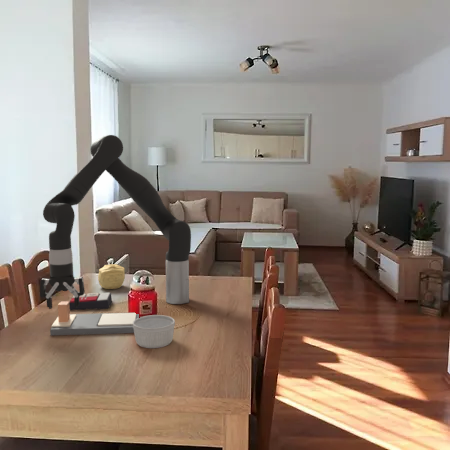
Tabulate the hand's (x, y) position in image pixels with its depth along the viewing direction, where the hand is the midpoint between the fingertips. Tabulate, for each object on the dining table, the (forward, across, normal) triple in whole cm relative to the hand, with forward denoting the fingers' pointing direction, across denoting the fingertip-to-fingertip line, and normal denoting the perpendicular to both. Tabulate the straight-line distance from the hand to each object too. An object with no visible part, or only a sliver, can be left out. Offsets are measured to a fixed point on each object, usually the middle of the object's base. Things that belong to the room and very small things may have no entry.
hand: (63, 307), depth 174 cm
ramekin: (+7, -31, +17) cm, 36 cm away
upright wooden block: (+5, 0, 0) cm, 5 cm away
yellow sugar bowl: (+7, -10, -52) cm, 54 cm away
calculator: (+8, -5, -26) cm, 27 cm away
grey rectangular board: (+7, -11, 0) cm, 13 cm away
